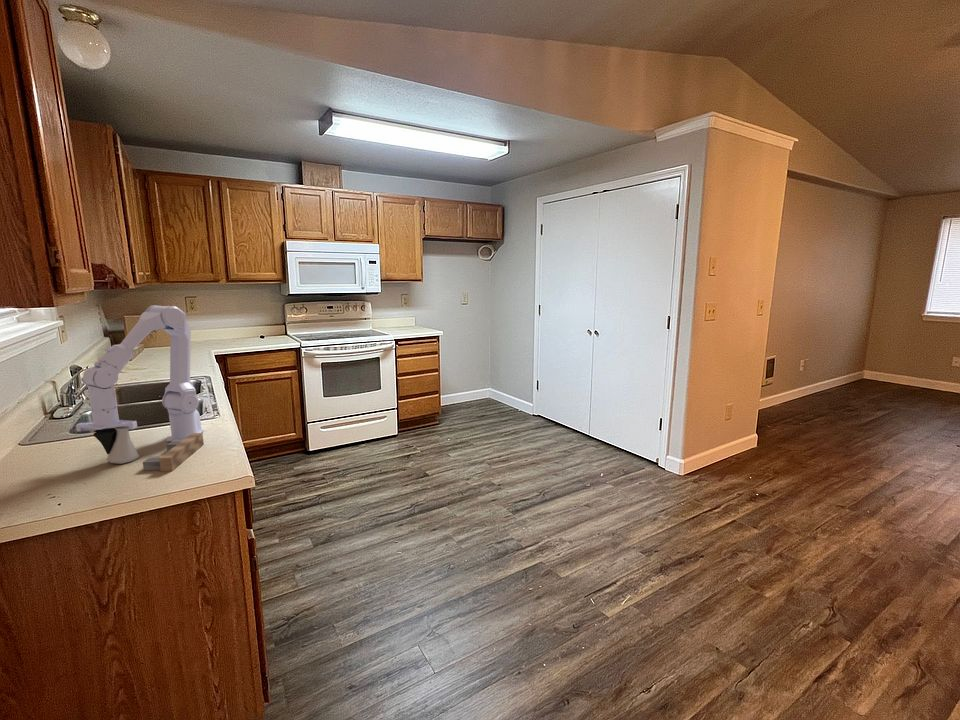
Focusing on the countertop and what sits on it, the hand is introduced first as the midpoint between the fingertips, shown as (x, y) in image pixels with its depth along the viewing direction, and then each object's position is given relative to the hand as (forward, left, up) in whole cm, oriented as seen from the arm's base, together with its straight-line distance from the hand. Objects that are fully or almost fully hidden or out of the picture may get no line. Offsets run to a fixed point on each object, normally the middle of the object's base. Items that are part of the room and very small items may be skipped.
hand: (111, 453), depth 130 cm
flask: (0, +3, -2) cm, 4 cm away
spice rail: (0, +17, -3) cm, 17 cm away
